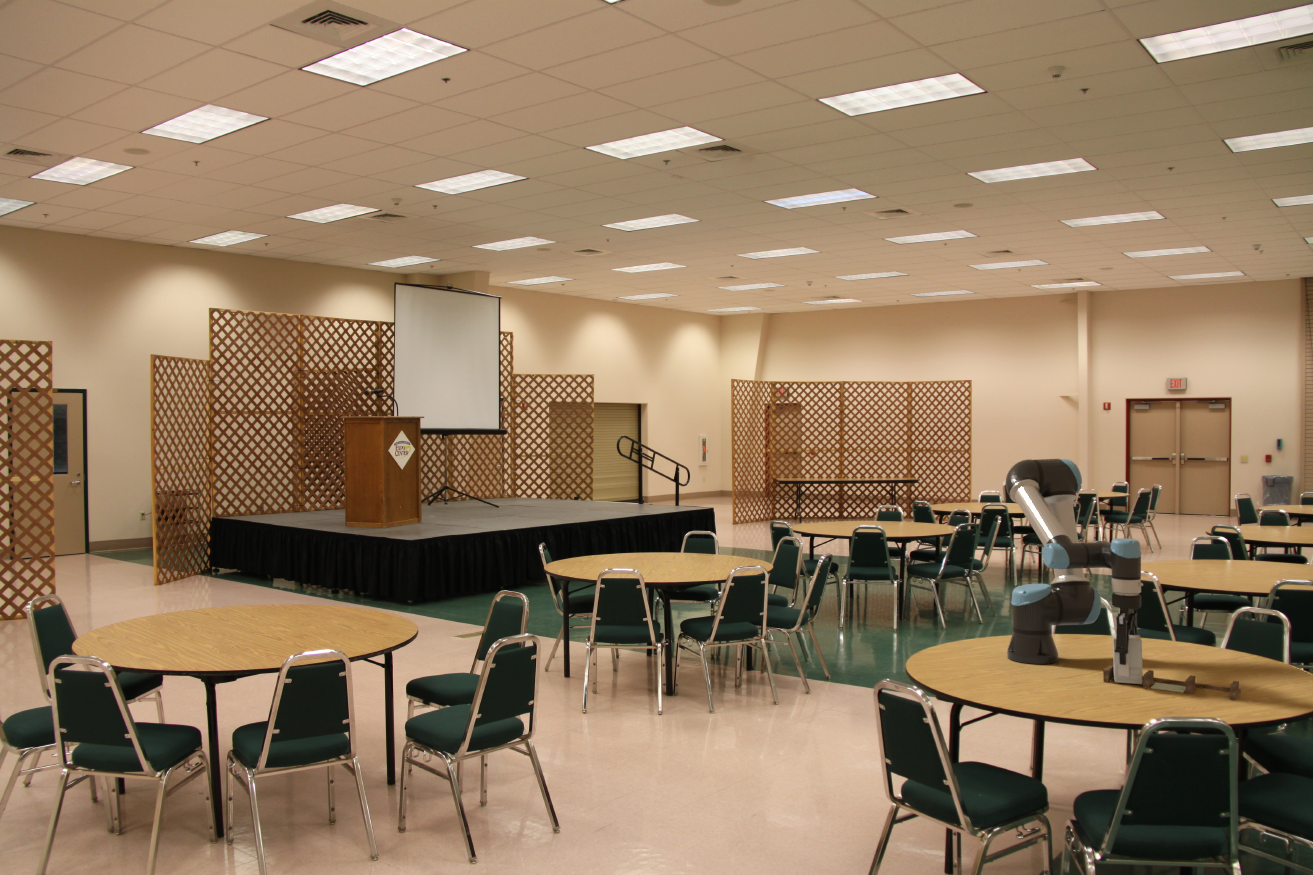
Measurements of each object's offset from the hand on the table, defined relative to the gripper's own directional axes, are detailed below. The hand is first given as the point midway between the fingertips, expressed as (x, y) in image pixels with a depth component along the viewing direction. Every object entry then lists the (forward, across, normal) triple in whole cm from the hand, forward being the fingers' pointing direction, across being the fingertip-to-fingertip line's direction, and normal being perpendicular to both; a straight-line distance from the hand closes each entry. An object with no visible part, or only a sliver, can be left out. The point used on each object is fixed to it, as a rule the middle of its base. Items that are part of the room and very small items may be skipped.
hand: (1127, 672), depth 266 cm
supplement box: (+3, 0, 0) cm, 3 cm away
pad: (+3, 0, -11) cm, 11 cm away
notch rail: (+3, +1, -11) cm, 11 cm away
